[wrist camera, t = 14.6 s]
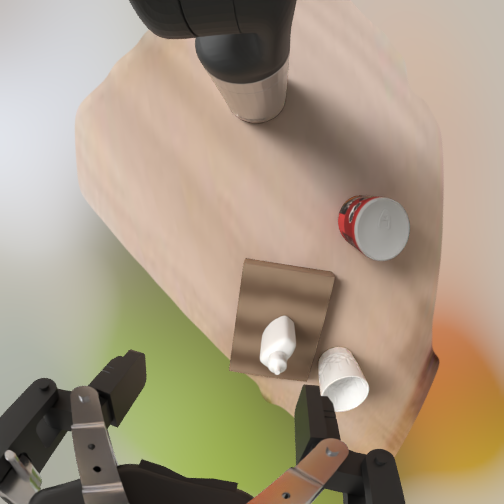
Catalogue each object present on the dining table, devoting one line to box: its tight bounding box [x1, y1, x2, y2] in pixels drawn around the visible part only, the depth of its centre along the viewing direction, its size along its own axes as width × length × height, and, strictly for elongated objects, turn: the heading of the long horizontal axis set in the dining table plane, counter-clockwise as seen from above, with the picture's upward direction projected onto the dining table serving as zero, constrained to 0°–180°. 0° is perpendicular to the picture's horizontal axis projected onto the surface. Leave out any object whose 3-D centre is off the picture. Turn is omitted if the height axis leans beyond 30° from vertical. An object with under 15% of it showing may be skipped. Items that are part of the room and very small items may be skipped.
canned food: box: [338, 195, 410, 261], centre depth 37 cm, size 8×8×11 cm
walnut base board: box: [229, 258, 335, 381], centre depth 46 cm, size 20×14×3 cm
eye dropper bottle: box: [260, 316, 296, 375], centre depth 39 cm, size 4×6×12 cm
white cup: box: [318, 347, 369, 412], centre depth 43 cm, size 8×8×10 cm
